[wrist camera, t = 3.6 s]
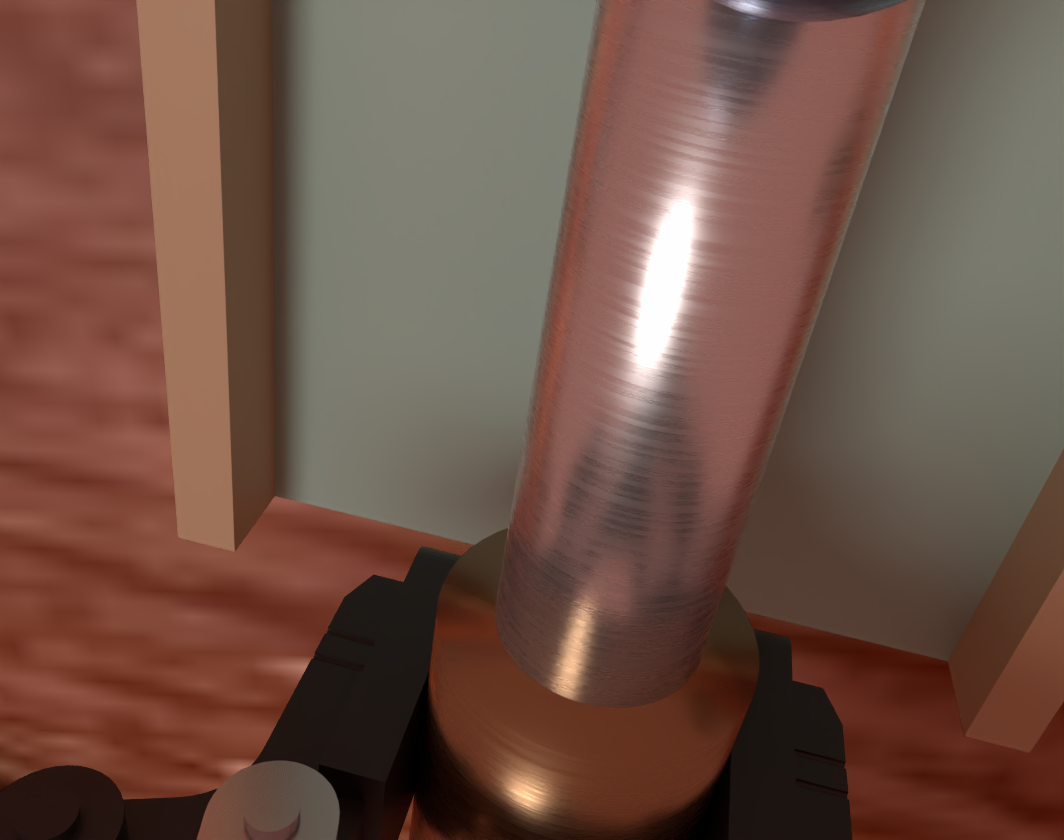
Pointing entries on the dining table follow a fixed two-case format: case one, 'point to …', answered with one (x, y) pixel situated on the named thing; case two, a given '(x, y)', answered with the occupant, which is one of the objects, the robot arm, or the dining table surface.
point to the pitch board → (521, 290)
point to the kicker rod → (653, 418)
